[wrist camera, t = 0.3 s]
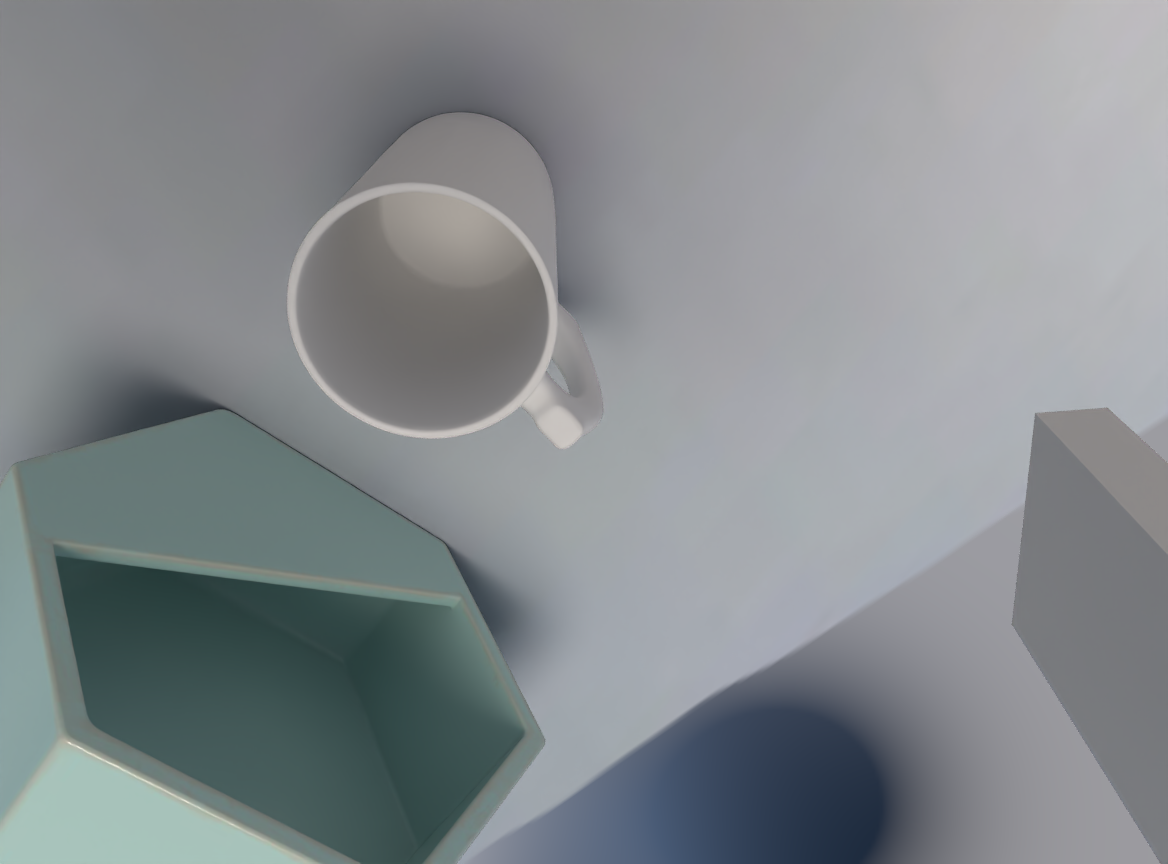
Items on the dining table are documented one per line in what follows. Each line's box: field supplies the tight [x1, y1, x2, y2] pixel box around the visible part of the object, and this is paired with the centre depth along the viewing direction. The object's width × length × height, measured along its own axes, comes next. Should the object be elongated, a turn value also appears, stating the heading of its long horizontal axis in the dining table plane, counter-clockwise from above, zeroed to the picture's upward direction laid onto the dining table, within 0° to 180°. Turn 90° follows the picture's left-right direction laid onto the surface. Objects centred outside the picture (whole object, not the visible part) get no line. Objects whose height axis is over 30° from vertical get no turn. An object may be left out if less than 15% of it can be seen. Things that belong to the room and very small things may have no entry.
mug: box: [287, 112, 603, 449], centre depth 33 cm, size 10×7×12 cm, turn 42°
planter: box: [0, 409, 545, 864], centre depth 36 cm, size 17×8×21 cm
